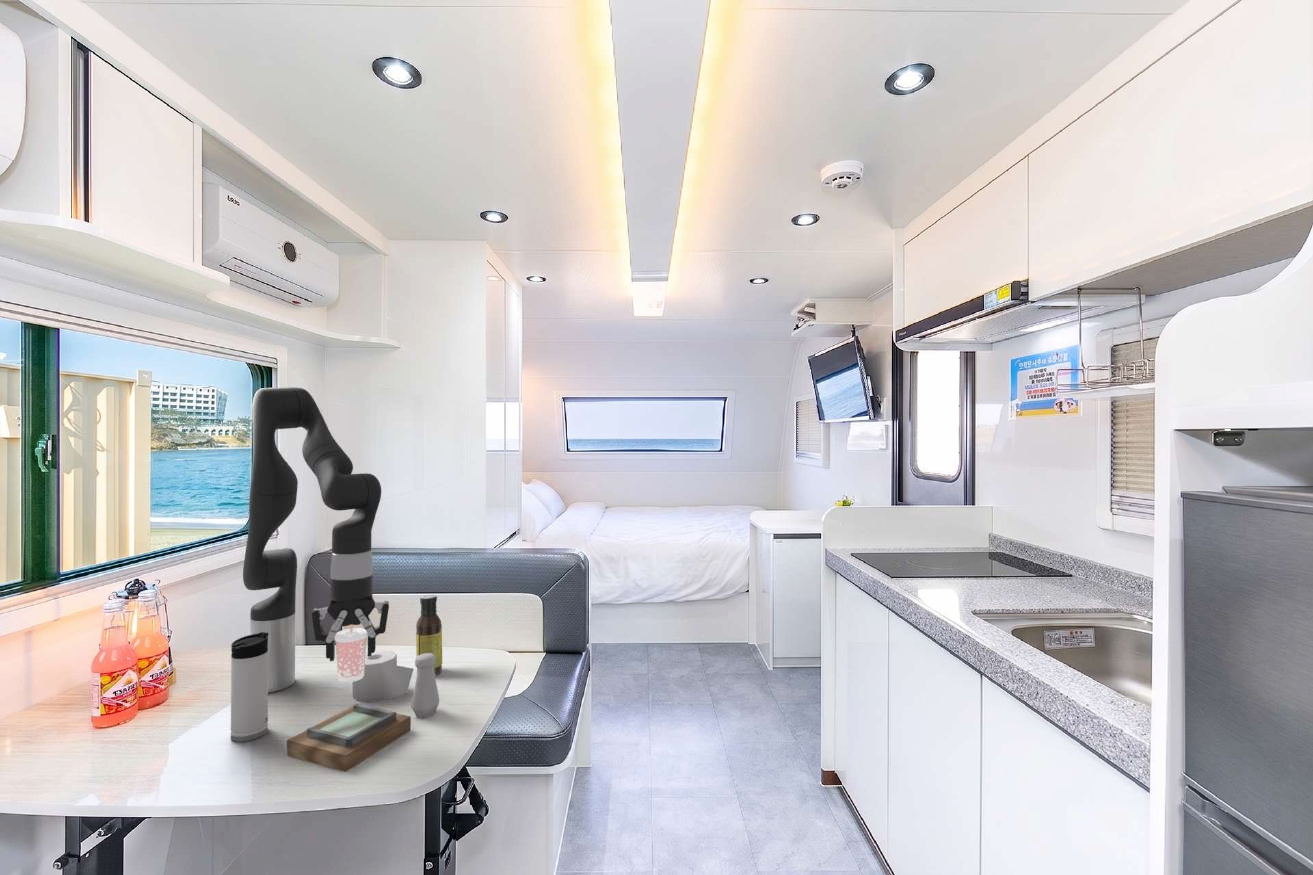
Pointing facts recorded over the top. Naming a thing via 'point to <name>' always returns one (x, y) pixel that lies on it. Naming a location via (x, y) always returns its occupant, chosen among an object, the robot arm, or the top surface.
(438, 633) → the sauce bottle
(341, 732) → the dock
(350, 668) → the beverage cup
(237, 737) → the travel mug
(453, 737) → the top surface
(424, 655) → the salt shaker
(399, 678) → the toilet tissue
